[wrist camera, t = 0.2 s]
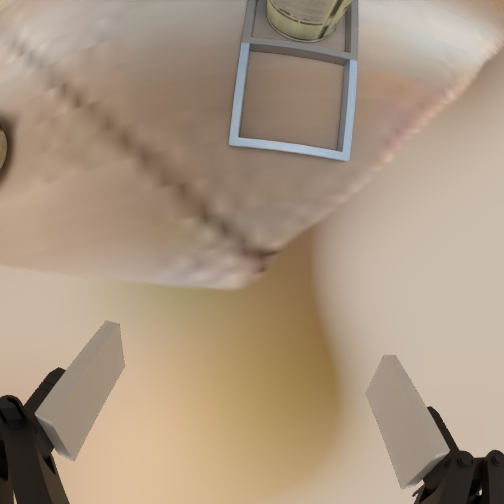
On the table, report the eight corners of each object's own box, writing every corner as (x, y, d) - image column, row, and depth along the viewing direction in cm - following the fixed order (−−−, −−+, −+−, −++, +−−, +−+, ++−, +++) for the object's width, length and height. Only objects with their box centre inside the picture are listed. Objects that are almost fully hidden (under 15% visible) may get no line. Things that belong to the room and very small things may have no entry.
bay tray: (254, -25, 27) (254, -35, 25) (352, -9, 28) (357, -17, 25) (230, 145, 36) (228, 144, 33) (342, 161, 36) (349, 161, 34)
